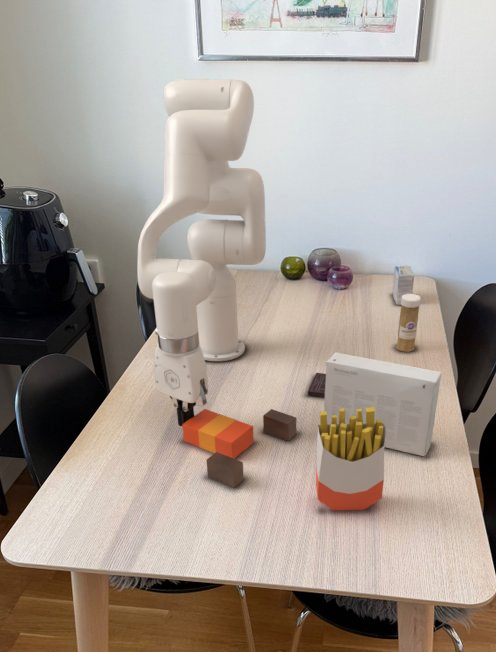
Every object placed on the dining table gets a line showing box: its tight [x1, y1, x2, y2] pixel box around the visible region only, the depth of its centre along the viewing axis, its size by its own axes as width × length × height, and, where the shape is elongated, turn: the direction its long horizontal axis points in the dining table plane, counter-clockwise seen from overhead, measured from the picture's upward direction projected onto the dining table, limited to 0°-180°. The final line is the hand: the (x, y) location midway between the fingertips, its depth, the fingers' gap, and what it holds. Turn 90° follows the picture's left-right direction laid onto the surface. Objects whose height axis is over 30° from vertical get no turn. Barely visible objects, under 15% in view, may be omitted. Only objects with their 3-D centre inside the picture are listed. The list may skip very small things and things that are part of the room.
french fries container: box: [315, 407, 386, 511], centre depth 111 cm, size 5×11×18 cm, turn 91°
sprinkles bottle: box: [396, 293, 422, 353], centre depth 161 cm, size 5×5×13 cm
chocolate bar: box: [307, 372, 326, 399], centre depth 148 cm, size 9×1×18 cm
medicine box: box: [392, 265, 415, 306], centre depth 188 cm, size 8×4×9 cm, turn 179°
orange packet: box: [181, 408, 255, 459], centre depth 131 cm, size 12×7×4 cm, turn 56°
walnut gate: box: [206, 408, 298, 489], centre depth 127 cm, size 6×21×4 cm, turn 146°
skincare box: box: [323, 351, 442, 457], centre depth 128 cm, size 21×5×16 cm, turn 65°
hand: (186, 423), depth 134 cm, fingers closed
